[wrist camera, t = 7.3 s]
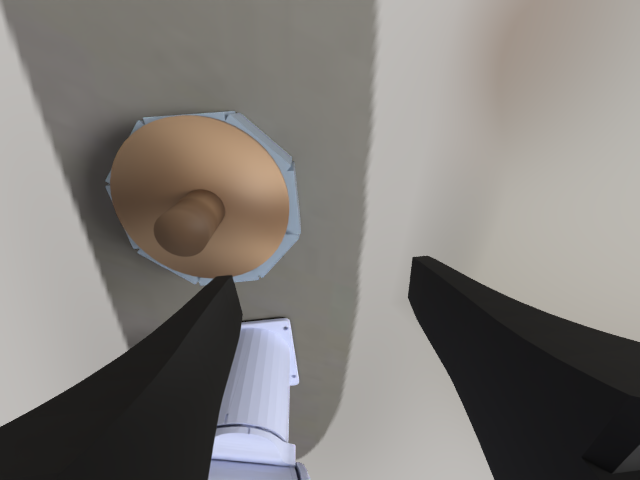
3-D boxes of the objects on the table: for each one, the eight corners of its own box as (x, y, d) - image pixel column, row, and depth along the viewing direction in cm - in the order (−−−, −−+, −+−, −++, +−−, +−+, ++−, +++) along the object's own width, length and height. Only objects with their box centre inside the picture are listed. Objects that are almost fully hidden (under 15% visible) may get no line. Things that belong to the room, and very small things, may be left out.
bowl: (304, 254, 22) (305, 275, 19) (170, 267, 21) (151, 290, 19) (288, 107, 17) (286, 107, 14) (112, 119, 16) (76, 122, 14)
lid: (296, 265, 19) (296, 306, 15) (153, 277, 18) (114, 323, 14) (279, 110, 14) (273, 111, 10) (87, 120, 14) (5, 126, 10)
